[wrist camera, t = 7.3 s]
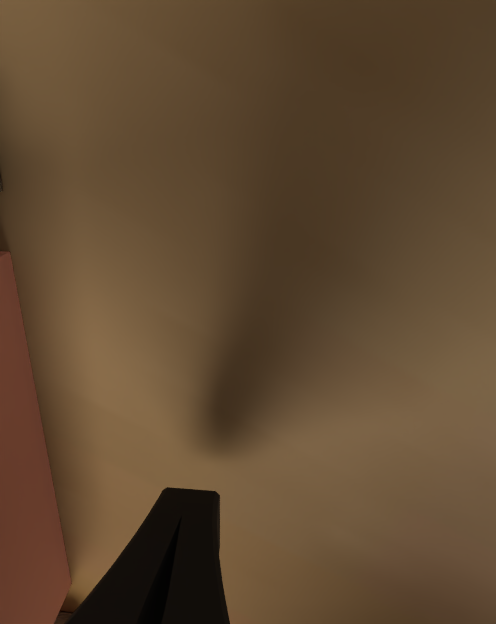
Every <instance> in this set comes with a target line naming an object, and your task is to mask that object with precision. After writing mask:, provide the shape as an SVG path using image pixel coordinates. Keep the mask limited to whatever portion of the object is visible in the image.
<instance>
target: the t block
mask: <svg viewBox="0 0 496 624" xmlns="http://www.w3.org/2000/svg"><path fill="white" fill-rule="evenodd" d="M71 584H72V582H71V577H70V572H69V566H68V561H67V556H66V550H65V545H64V539H63V534H62V529H61V523H60V518H59V512H58V507H57V502H56V496H55V491H54V486H53V480H52V475H51V469H50V464H49V459H48V453H47V448H46V443H45V437H44V432H43V426H42V421H41V416H40V410H39V405H38V399H37V394H36V389H35V383H34V378H33V373H32V367H31V362H30V356H29V351H28V346H27V340H26V335H25V329H24V324H23V319H22V313H21V308H20V303H19V297H18V292H17V286H16V281H15V276H14V270H13V265H12V260H11V254H10V252H8V251H0V624H54V622H55V620H56V618H57V615H58V613H59V611H60V609H61V606H62V604H63V602H64V600H65V598H66V595H67V593H68V591H69V589H70V586H71Z"/></svg>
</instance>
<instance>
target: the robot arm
mask: <svg viewBox="0 0 496 624" xmlns="http://www.w3.org/2000/svg"><path fill="white" fill-rule="evenodd" d="M219 549H220V495H219V494H218V493H217V492H216V491H206V490H193V489H181V488H168V487H167V488H165V489H164V490H163V491H162V493H161V494H160V496H159V498H158V500H157V501H156V503H155V504H154V506H153V508H152V509H151V511H150V512H149V514H148V516H147V517H146V519H145V520H144V522H143V523H142V525H141V526H140V528H139V529H138V531H137V532H136V534H135V535H134V536H133V538H132V539H131V541H130V542H129V543H128V545H127V546H126V547H125V549H124V550H123V552H122V553H121V554H120V556H119V557H118V558H117V560H116V561H115V562H114V564H113V565H112V566H111V568H110V569H109V570H108V572H107V573H106V574H105V575H104V576H103V578H102V579H101V580H100V581H99V583H98V584H97V585H96V586H95V588H94V589H93V590H92V591H91V593H90V594H89V595H88V596H87V598H86V599H85V600H84V601H83V602H82V604H81V605H80V606H79V607H78V608H77V609H76V610H75V612H74V613H73V614H72V615H71V616H70V617H69V618H68V620H67V621H66V622H65V623H64V624H230V621H229V616H228V611H227V606H226V600H225V595H224V589H223V583H222V575H221V567H220V560H219Z"/></svg>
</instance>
